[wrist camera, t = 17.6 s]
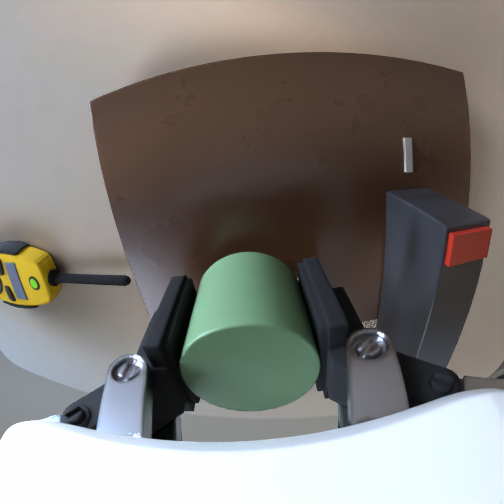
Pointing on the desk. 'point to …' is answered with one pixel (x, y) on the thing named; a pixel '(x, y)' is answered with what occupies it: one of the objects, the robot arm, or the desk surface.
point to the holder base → (277, 162)
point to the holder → (429, 271)
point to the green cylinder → (249, 336)
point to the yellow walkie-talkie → (38, 276)
